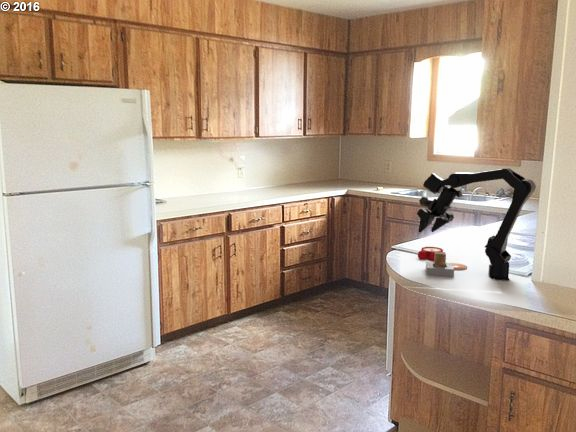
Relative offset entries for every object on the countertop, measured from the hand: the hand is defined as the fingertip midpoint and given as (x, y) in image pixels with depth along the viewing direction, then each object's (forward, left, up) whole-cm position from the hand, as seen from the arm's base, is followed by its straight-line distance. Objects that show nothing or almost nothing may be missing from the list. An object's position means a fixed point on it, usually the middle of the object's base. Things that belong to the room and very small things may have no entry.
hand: (425, 231), depth 218 cm
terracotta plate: (-12, +2, -14) cm, 19 cm away
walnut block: (-5, +12, -14) cm, 19 cm away
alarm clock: (-3, -13, -15) cm, 20 cm away
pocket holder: (-5, +12, -14) cm, 19 cm away
